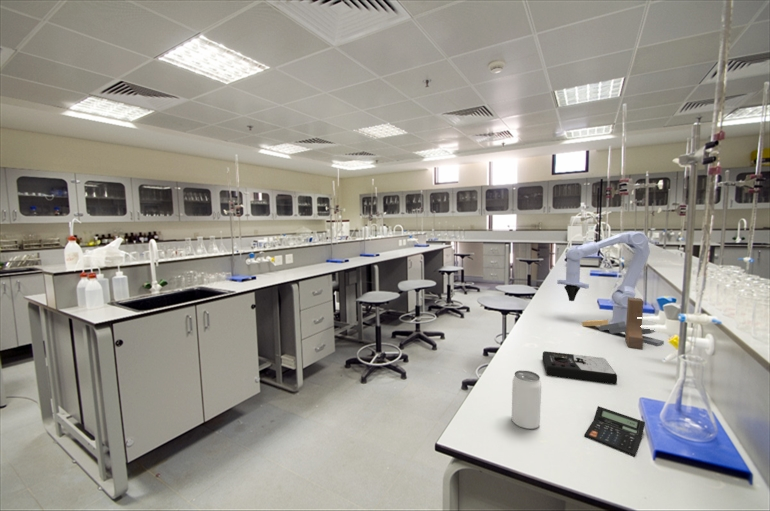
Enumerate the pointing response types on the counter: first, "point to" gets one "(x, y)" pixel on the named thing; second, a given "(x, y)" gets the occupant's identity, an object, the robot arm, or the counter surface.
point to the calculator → (616, 431)
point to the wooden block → (634, 323)
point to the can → (526, 399)
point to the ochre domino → (595, 323)
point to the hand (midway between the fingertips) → (571, 300)
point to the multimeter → (579, 367)
